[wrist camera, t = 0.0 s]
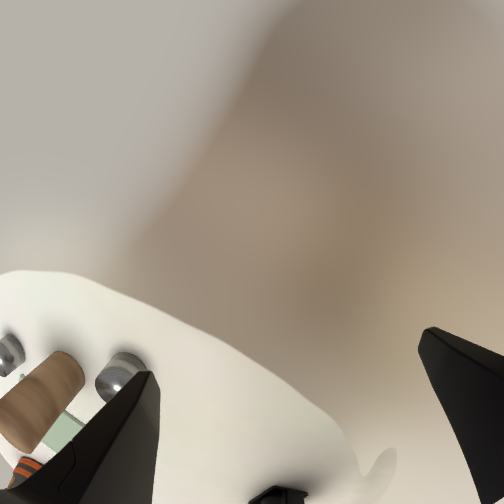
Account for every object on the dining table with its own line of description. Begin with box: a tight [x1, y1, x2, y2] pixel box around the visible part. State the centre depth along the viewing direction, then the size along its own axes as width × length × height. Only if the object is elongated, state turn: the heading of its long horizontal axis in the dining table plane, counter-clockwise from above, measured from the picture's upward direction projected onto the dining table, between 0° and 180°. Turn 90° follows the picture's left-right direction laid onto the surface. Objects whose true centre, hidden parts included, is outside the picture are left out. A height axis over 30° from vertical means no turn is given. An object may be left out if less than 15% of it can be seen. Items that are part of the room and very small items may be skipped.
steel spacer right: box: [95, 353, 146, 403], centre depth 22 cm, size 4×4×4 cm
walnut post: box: [0, 351, 85, 454], centre depth 17 cm, size 5×5×12 cm
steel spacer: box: [0, 334, 25, 377], centre depth 20 cm, size 4×4×4 cm
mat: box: [19, 374, 85, 453], centre depth 24 cm, size 12×12×1 cm
